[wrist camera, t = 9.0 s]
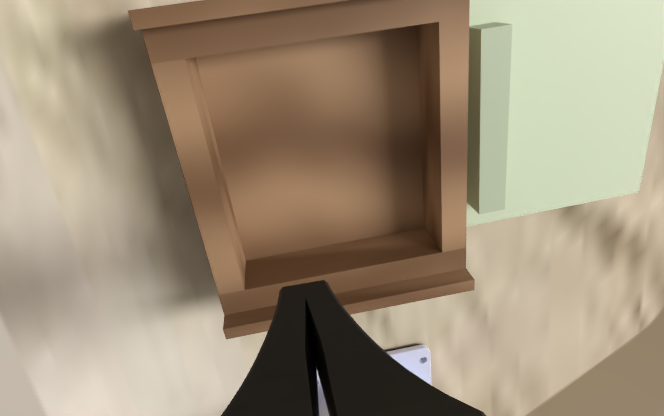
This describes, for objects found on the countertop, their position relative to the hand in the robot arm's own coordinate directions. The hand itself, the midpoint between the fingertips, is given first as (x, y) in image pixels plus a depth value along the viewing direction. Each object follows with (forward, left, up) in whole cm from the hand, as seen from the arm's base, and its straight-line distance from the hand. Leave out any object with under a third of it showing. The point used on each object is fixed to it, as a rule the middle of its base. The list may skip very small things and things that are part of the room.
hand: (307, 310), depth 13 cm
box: (+2, -2, -10) cm, 11 cm away
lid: (+2, -14, -11) cm, 18 cm away
